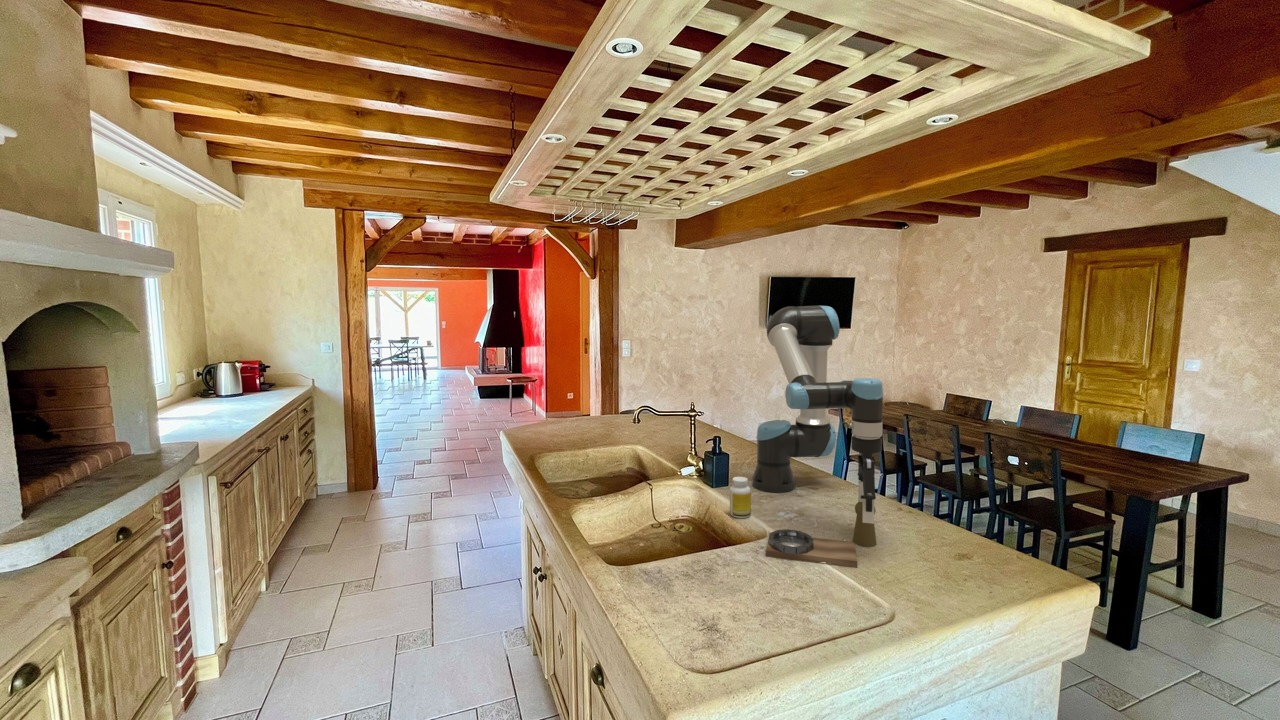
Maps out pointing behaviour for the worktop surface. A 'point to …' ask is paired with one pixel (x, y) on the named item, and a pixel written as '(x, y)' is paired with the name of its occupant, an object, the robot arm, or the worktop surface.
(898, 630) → the worktop surface
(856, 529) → the cork
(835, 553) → the walnut board
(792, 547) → the ring holder
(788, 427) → the robot arm
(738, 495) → the pill bottle
